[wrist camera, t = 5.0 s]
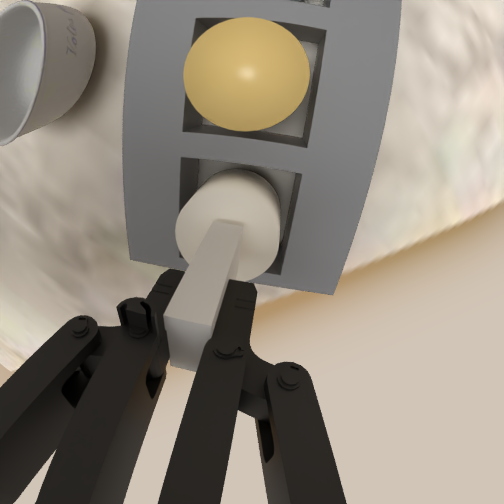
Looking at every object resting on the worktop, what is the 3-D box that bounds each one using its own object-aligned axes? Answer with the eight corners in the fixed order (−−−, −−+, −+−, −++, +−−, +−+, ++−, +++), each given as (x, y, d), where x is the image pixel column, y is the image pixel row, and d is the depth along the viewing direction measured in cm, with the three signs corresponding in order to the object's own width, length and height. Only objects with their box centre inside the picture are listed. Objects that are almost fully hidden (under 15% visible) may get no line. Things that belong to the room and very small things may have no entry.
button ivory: (194, 240, 20) (176, 273, 16) (198, 163, 17) (175, 182, 13) (272, 253, 19) (269, 290, 16) (287, 176, 16) (288, 199, 13)
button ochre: (202, 119, 15) (178, 125, 12) (212, 33, 12) (191, 16, 9) (295, 130, 15) (299, 140, 12) (309, 42, 12) (317, 26, 9)
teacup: (138, 42, 14) (68, 28, 8) (70, 147, 19) (4, 177, 12) (56, -11, 10) (-3, -20, 3) (6, 78, 15) (-51, 92, 8)
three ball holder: (151, 234, 23) (130, 259, 19) (180, -60, 9) (161, -81, 6) (327, 263, 22) (333, 295, 19) (383, -39, 9) (401, -60, 5)
